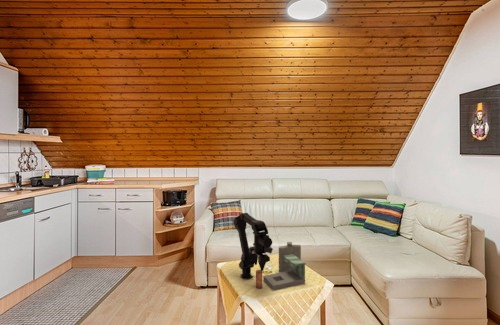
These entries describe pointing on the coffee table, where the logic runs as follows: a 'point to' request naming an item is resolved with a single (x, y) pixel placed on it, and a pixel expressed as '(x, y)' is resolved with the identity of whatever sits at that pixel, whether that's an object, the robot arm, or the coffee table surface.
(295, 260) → the awning
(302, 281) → the socket deck
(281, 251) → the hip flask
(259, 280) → the peg
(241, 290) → the coffee table surface
